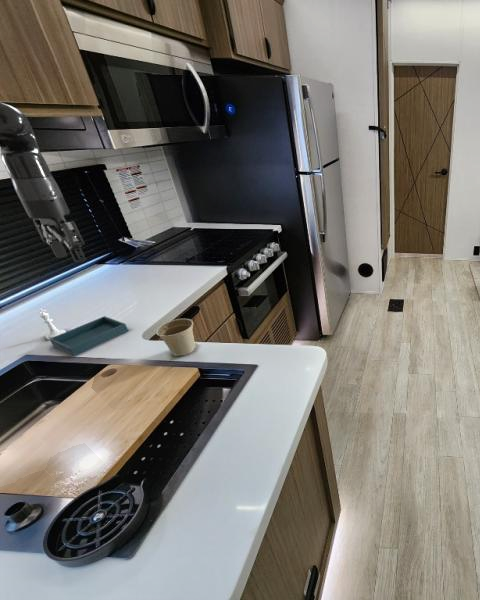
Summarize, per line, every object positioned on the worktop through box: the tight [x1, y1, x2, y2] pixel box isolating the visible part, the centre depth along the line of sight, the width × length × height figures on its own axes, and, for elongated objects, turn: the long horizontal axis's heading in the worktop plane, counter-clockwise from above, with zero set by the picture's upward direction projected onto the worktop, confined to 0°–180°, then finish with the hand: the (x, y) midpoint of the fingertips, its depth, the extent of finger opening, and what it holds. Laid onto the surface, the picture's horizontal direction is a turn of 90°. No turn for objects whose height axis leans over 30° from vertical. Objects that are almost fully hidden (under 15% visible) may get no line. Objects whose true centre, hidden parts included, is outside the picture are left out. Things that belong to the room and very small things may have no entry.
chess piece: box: [38, 308, 67, 340], centre depth 107 cm, size 5×5×10 cm
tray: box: [48, 315, 129, 357], centre depth 107 cm, size 15×12×3 cm
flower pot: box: [155, 318, 196, 357], centre depth 99 cm, size 9×9×9 cm
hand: (71, 259), depth 88 cm, fingers open, 8 cm apart
